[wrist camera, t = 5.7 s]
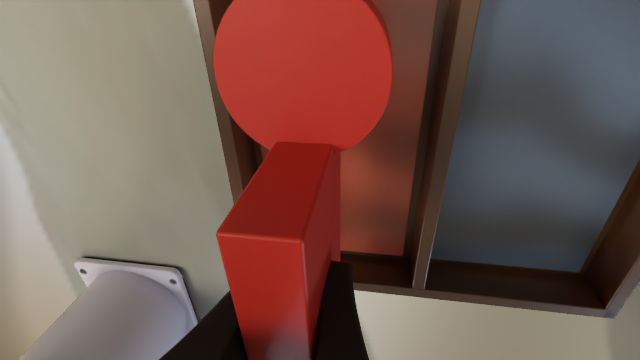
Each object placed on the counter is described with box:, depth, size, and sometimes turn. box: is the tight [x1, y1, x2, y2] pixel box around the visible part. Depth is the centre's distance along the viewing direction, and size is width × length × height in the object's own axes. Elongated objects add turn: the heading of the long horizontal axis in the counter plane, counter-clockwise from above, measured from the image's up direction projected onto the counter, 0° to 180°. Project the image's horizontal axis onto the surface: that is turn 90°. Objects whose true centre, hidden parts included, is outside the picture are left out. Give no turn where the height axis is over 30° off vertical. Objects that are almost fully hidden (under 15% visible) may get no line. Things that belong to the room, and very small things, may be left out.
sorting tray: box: [193, 0, 640, 319], centre depth 13 cm, size 17×18×2 cm
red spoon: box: [213, 0, 393, 360], centre depth 9 cm, size 13×4×6 cm, turn 2°
